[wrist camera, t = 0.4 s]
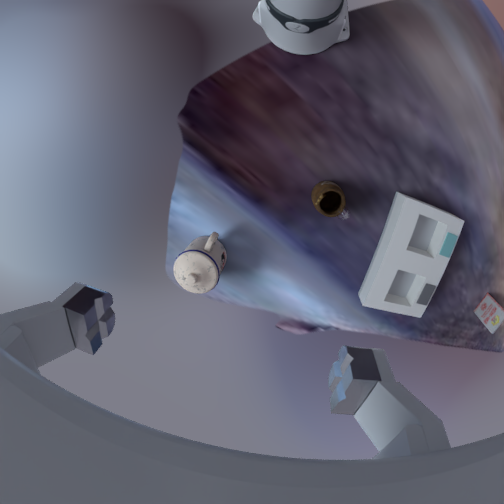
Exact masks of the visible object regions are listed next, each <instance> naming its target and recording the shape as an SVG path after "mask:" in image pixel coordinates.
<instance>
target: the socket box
mask: <svg viewBox="0 0 504 504" xmlns="http://www.w3.org/2000/svg"><path fill="white" fill-rule="evenodd" d="M463 224H464V221H463V220H462V219H460V218H458V217H457V216H455V215H453V214H451V213H449V212H446V211H444V210H442V209H440V208H437V207H435V206H432V205H430V204H428V203H425V202H423V201H420V200H418V199H415V198H413V197H410V196H407V195H405V194H402V193H399V192H397V191H396V194H395V197H394V200H393V203H392V206H391V209H390V212H389V215H388V218H387V221H386V224H385V227H384V230H383V232H382V235H381V238H380V241H379V243H378V246H377V249H376V251H375V254H374V256H373V259H372V261H371V264H370V266H369V269H368V271H367V274H366V276H365V279H364V281H363V283H362V286H361V288H360V290H359V293H358V295H359V297H360V300H361V302H362V305H363V306H366V307H371V308H376V309H380V310H385V311H390V312H395V313H400V314H405V315H410V316H415V317H420V318H421V316H422V315H423V313H424V311H425V309H426V307H427V305H428V303H429V302H430V300H431V298H432V296H433V294H434V292H435V290H436V288H437V286H438V284H439V282H440V280H441V277H442V275H443V273H444V271H445V269H446V266H447V264H448V262H449V260H450V257H451V255H452V253H453V250H454V248H455V245H456V243H457V240H458V238H459V235H460V232H461V230H462V227H463Z"/></svg>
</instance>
